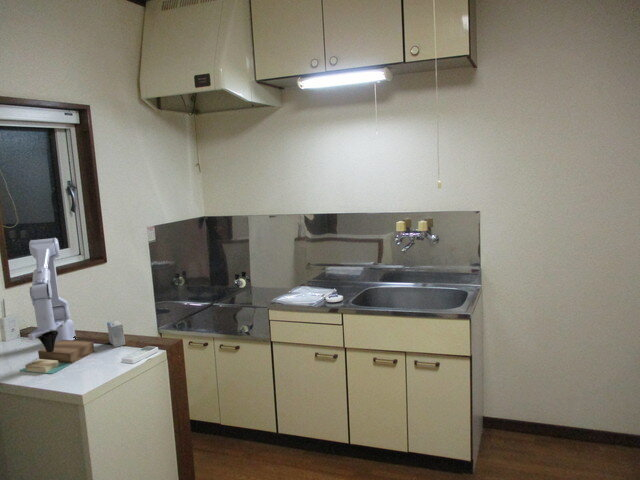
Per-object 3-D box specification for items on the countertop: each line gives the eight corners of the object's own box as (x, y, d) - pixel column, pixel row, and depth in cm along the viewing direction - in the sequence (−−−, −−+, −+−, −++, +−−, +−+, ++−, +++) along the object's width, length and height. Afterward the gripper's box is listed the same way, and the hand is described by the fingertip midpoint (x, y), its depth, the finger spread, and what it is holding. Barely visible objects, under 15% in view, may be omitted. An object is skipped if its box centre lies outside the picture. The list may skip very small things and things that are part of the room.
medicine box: (125, 344, 209) (123, 324, 208) (114, 347, 207) (111, 326, 205) (120, 339, 216) (118, 319, 214) (109, 342, 213) (106, 322, 212)
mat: (38, 361, 197) (38, 360, 197) (70, 364, 192) (70, 363, 192) (19, 370, 189) (19, 370, 189) (52, 374, 184) (52, 373, 184)
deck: (63, 349, 208) (62, 339, 208) (94, 351, 204) (93, 341, 203) (39, 361, 197) (37, 351, 197) (71, 363, 193) (69, 353, 192)
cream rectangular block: (25, 365, 188) (26, 370, 188) (45, 367, 185) (45, 372, 185) (38, 358, 193) (39, 364, 193) (58, 360, 190) (58, 365, 191)
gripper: (37, 323, 182) (42, 360, 185) (68, 310, 196) (73, 344, 198) (21, 322, 185) (27, 358, 187) (53, 309, 198) (58, 343, 200)
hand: (50, 351), depth 193 cm, fingers closed
